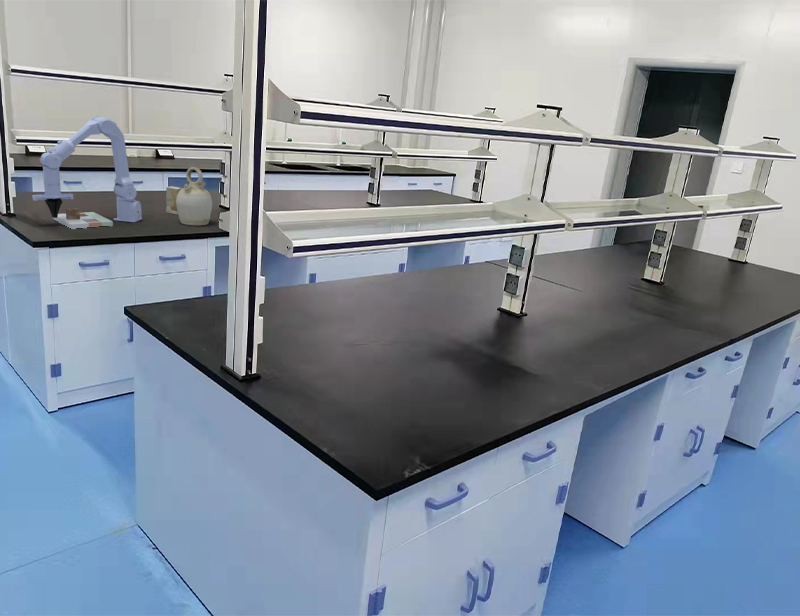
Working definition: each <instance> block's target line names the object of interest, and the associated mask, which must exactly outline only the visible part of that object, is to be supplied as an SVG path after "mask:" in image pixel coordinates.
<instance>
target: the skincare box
mask: <svg viewBox="0 0 800 616" xmlns="http://www.w3.org/2000/svg"><path fill="white" fill-rule="evenodd" d="M183 188H184V187H178V186H172V185H171V186H166V187H165V189H166V190H165V191H166V196H165V197H166V198H165V199H166V205H165V207H166V210H165V213H167V214H171V215H178V210H177V205H176V198H177V195H178V193H179V191H180V190H181V189H183Z"/></svg>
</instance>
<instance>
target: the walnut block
mask: <svg viewBox="0 0 800 616" xmlns="http://www.w3.org/2000/svg"><path fill="white" fill-rule="evenodd" d="M64 209H65V214H66V218H67V219H69V220H75V219H80V213H81V211H80V209H79V208H78V207H65V208H64Z"/></svg>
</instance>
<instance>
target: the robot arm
mask: <svg viewBox="0 0 800 616" xmlns="http://www.w3.org/2000/svg"><path fill="white" fill-rule="evenodd" d="M101 134H102V135H104V136H105V137H106V138H108V139H109V140H110V143H111V145H110V146H111V150H112V151H111V152H112V157H113V163H114V164H113V165H114V170H115V179H114V186H113V193H114V194H115V195H116V215H117V217H114V218H113V221H120V222H128V223H129V222H130V223H137V222H139V221H141V220H143V217H142V204H141V202H140V201H139V200H136V197H137V194H138V192H137V189H136V187H135V185H134V182H133V180H132V178H131V176H130V170H129V162H128V157H127V149H126V142H125V135H124V132H122V131H121V129H120V127H118V125H117V122H115V121H114V120H112V119H111V118H105V117H102V116H100V115H99V116H98V115H96V116H94V117H92V118H91V119H90V120H87V122H86V123H85V124H84V125H83V126H82V127H81V128H79V130H77V131H76V132H75V133H74V134H73V135H72V136H71V137H70V138H69V139H62V140H60V139H59V140H58V141H57V144H56V145H55V146H53V147H52V148H49V149H48V152H43V153H42V154H41V156H40V158H39V162H40V164H41V165H42V171H43V172H42V177H43V186H44V187H43V188H44V193H42V194H41V193H40V194H32V196H31V197H32V201H34V202H35V201H36V202H37V201H44V202H45V204H46V205H47V208H48V209H49V211H50V214H51V217H52V219H53V218H57V217H58V214H59V211H60V208H61V206H62V204H63V200H74V194H73V193H62V190H61V187H62V186H61V176H60V173H61V172H60V167H61V165H62V163H63V161H65V160H66V159H67V158H68V157H69V156H70V155H72V154H73V153H74V152H75V150H76V146H78V145H79V144H81V143H82V142H83V141H85V140H86V139H88V137H90V136H95V135H101Z"/></svg>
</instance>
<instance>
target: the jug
mask: <svg viewBox="0 0 800 616" xmlns="http://www.w3.org/2000/svg"><path fill="white" fill-rule="evenodd" d="M193 171H195V172H196V173H197V176H198V178H197V180H196V181H195V180H193V179H192V176H191V175H192V172H193ZM185 174H186V180H187V182H188V183H185V184H184V186H183V187H182V188H183V189H181V190H180V191H179V193H178V195H177V198H176V205H177V210H178V214H177V215H178V218H179V222H180V223H181V224H182V225H186V226H206V225H209V222H210V220H211V214H212V210H213V209H212V208H213V200H212V196H211V194H210V192H209V191H208V190H207V189H205V186H206V184H207V183H206V182H204V181H203V177H204V176H203V173H202V170H200V168H199V167H197V166H191V167H189V168H188V169H187V170H186V173H185Z"/></svg>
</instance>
